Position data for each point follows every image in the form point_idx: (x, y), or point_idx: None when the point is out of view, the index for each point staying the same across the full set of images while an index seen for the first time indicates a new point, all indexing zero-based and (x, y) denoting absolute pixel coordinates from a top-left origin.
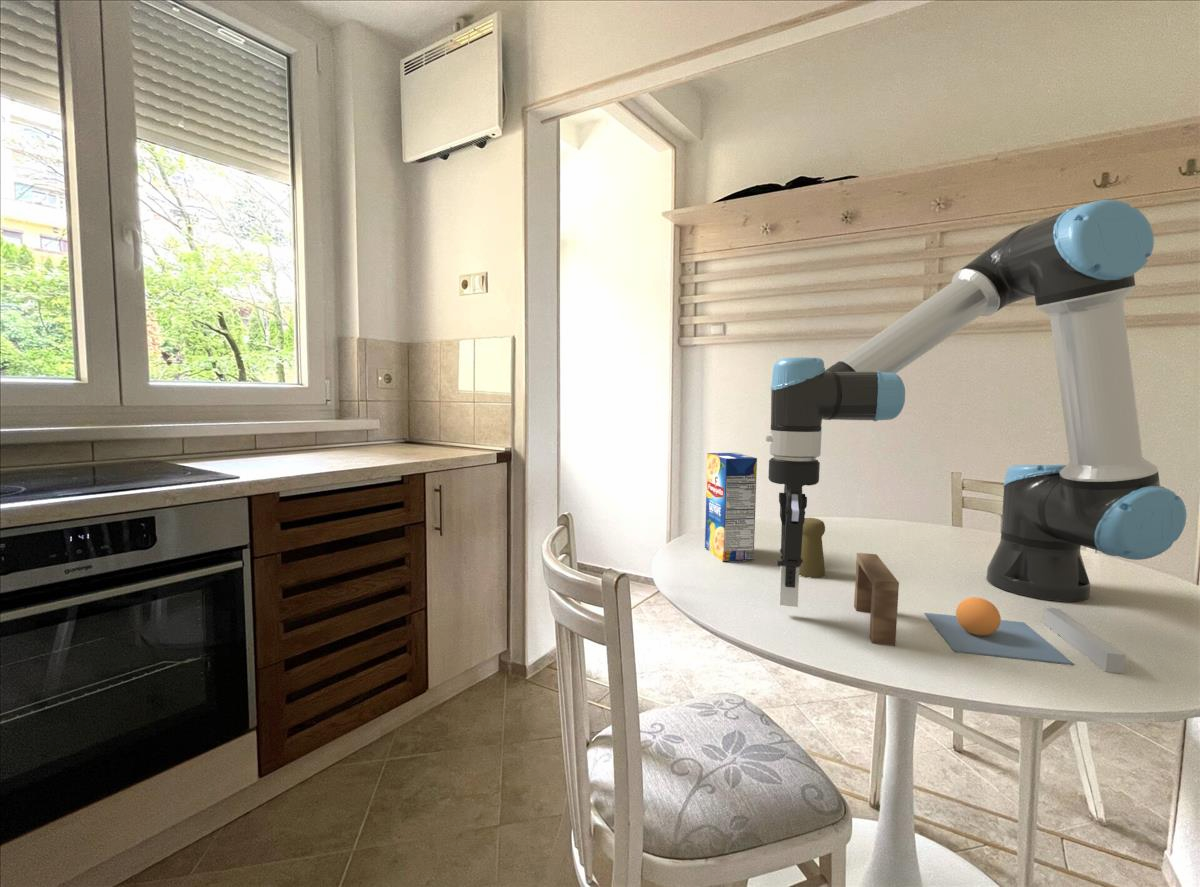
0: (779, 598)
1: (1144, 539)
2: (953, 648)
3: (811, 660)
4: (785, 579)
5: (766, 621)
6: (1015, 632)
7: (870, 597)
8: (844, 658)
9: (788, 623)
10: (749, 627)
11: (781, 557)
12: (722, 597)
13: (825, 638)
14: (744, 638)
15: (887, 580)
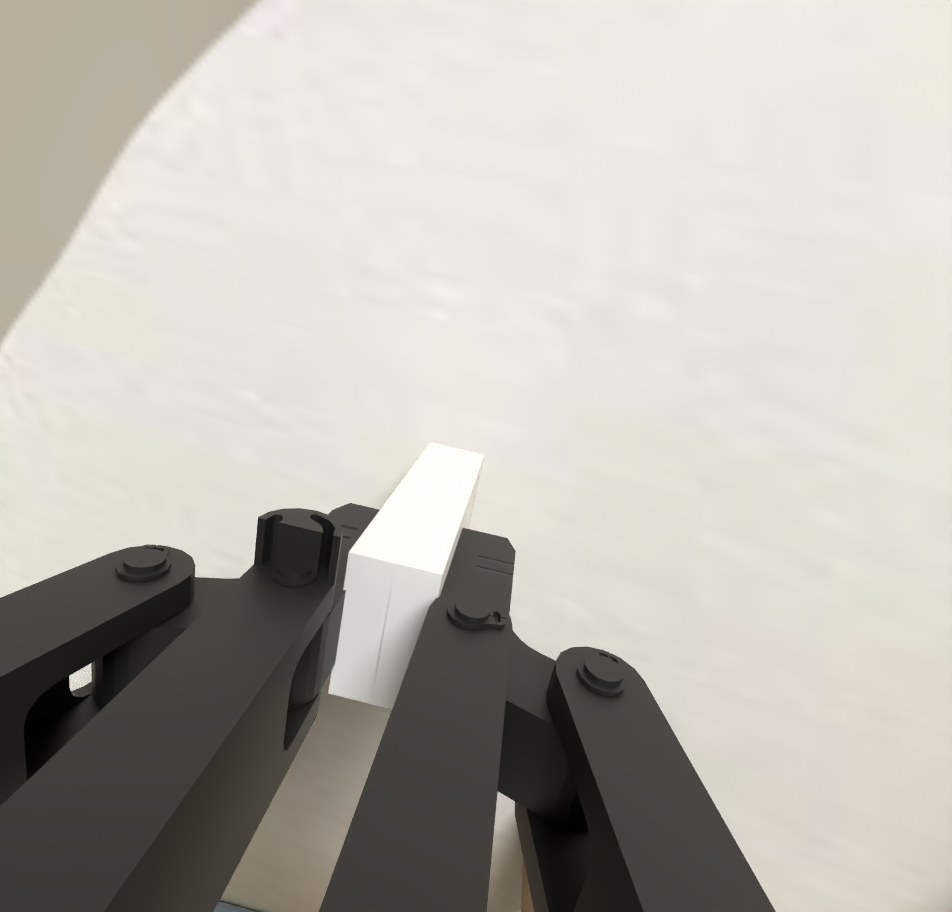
0: (480, 460)
1: None
2: (215, 907)
3: (4, 427)
4: (354, 527)
5: (372, 339)
6: None
7: (527, 897)
8: (60, 555)
9: (361, 446)
10: (278, 224)
11: (444, 610)
12: (758, 124)
13: (223, 553)
14: (136, 167)
15: None
